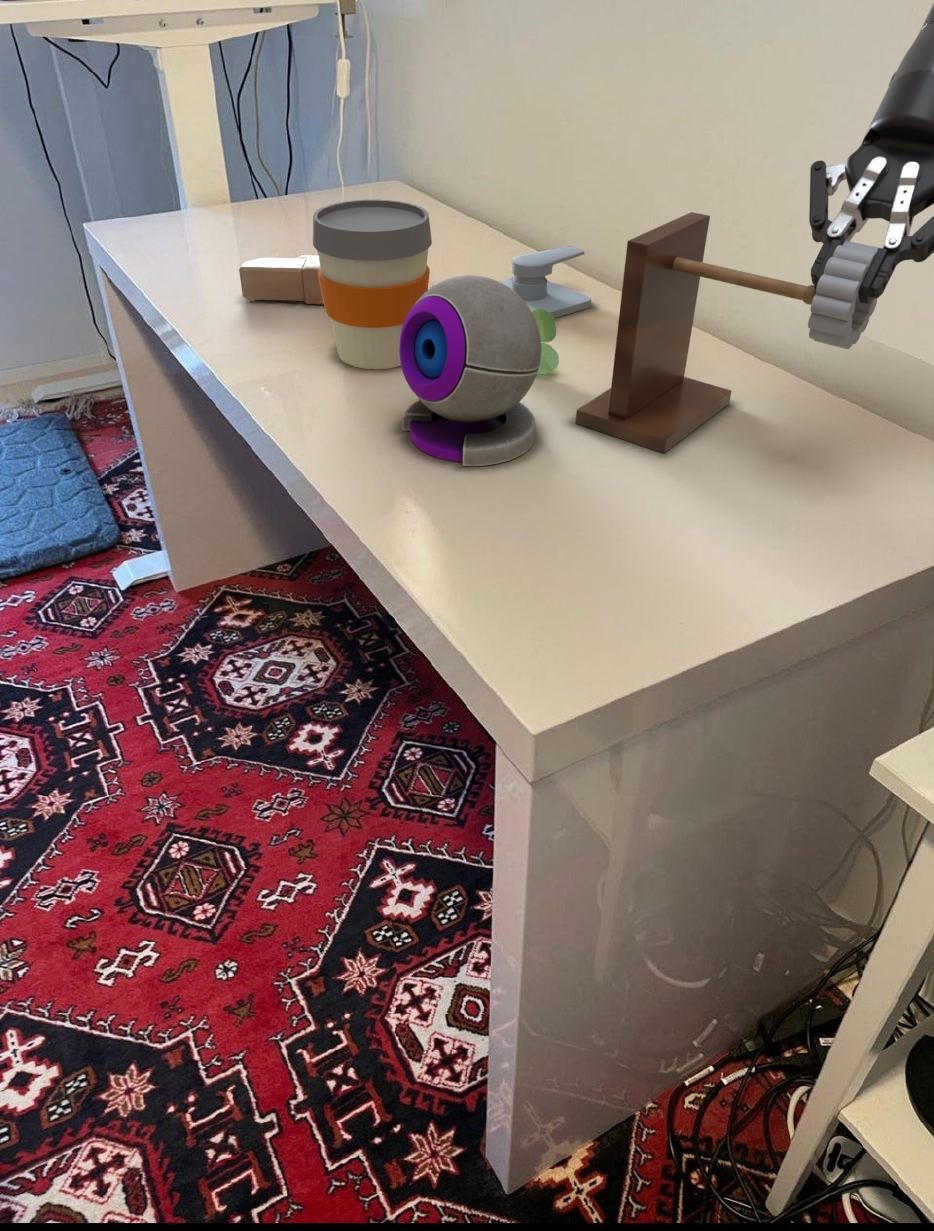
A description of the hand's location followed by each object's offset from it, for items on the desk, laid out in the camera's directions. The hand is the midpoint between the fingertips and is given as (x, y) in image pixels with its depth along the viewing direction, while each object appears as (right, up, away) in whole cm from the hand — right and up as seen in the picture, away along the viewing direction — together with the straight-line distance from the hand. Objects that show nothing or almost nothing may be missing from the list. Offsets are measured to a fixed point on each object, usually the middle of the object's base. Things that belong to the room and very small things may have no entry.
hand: (840, 292), depth 76 cm
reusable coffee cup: (-40, +4, +32) cm, 51 cm away
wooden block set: (-49, +18, +51) cm, 73 cm away
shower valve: (-21, +14, +46) cm, 53 cm away
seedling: (-22, +2, +30) cm, 38 cm away
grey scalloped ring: (+1, -3, +4) cm, 5 cm away
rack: (-7, -7, +19) cm, 21 cm away
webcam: (-30, -8, +17) cm, 35 cm away
